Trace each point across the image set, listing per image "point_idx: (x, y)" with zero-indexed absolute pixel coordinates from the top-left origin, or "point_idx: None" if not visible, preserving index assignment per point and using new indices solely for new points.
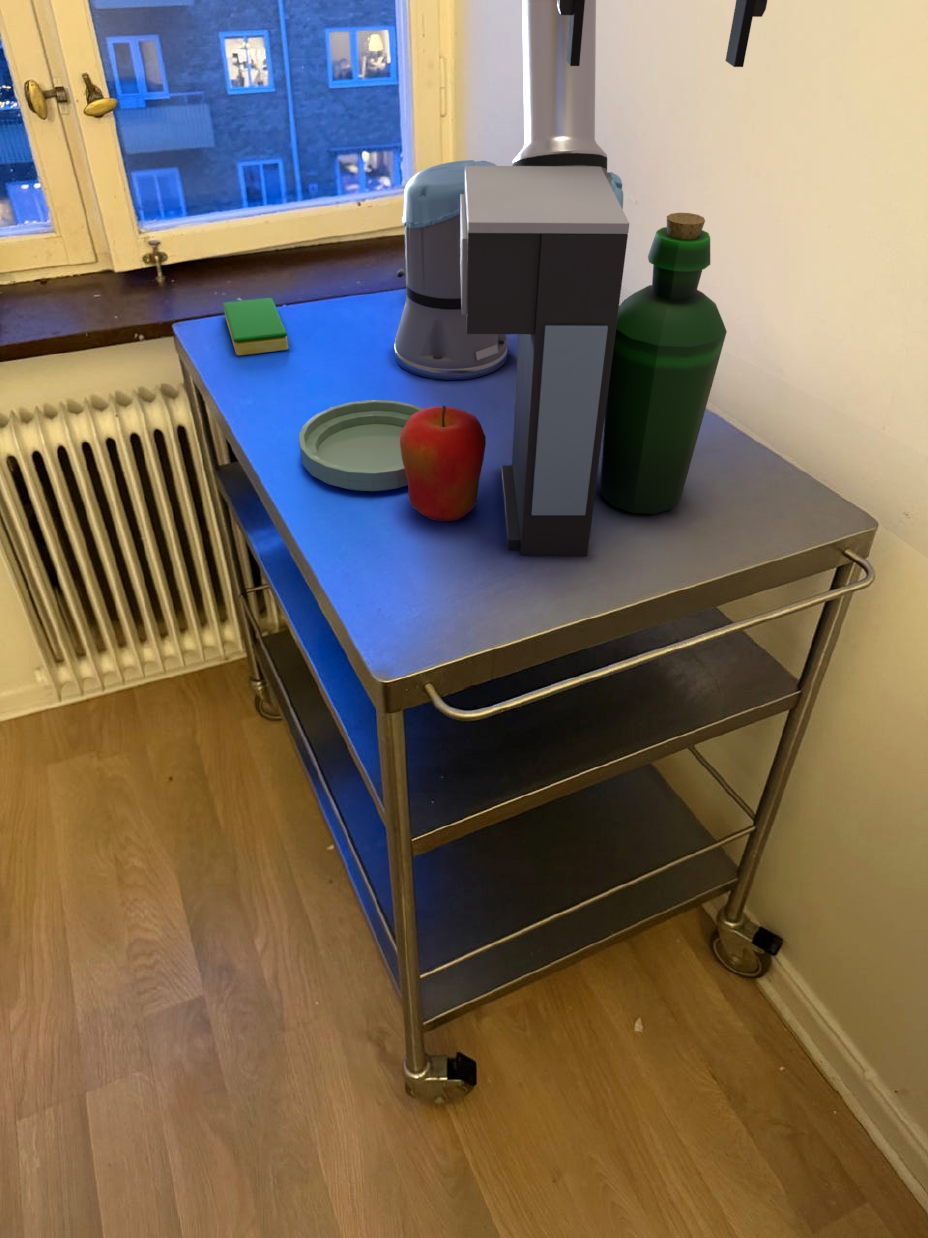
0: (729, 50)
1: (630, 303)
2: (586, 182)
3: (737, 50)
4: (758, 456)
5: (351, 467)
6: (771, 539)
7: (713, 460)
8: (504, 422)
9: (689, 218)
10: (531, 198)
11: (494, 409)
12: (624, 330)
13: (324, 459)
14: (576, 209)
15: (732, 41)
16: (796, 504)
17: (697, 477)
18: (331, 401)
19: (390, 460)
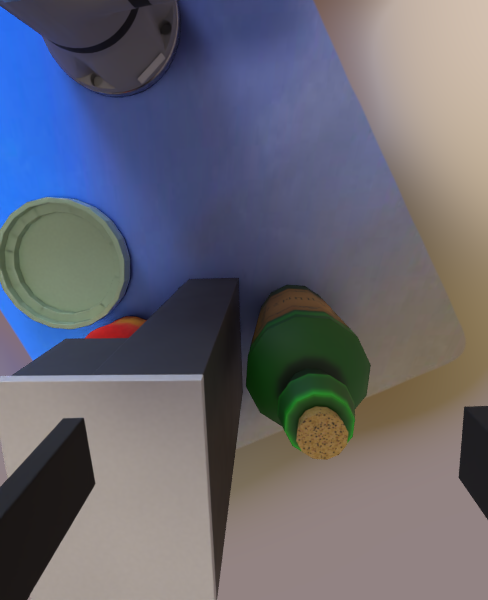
0: (476, 436)
1: (262, 387)
2: (173, 462)
3: (476, 501)
4: (414, 249)
5: (54, 289)
6: (383, 372)
7: (370, 258)
8: (181, 191)
9: (327, 437)
10: (98, 531)
11: (170, 163)
12: (255, 401)
13: (29, 277)
14: (155, 570)
15: (486, 463)
16: (420, 326)
17: (348, 287)
18: (7, 153)
19: (84, 277)
